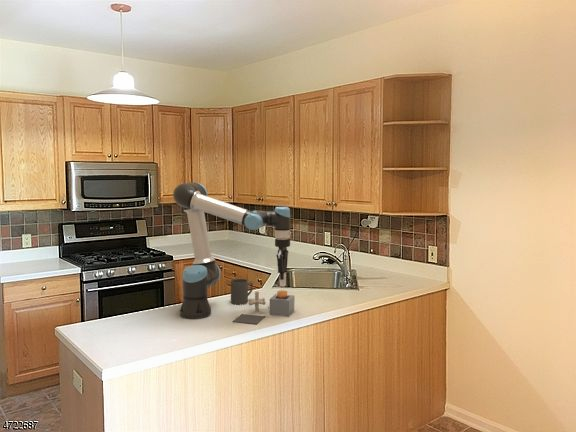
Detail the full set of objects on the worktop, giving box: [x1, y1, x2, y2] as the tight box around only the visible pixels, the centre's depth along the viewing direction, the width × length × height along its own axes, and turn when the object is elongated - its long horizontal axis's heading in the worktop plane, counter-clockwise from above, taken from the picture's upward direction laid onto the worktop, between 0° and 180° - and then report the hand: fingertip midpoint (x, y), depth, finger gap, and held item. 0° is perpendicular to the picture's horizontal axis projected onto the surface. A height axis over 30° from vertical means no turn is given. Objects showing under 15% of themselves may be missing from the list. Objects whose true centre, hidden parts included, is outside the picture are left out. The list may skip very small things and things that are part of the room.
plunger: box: [276, 289, 288, 298], centre depth 244 cm, size 5×5×2 cm
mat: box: [232, 313, 266, 326], centre depth 234 cm, size 12×12×1 cm
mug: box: [230, 278, 254, 306], centre depth 264 cm, size 14×9×12 cm
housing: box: [269, 293, 296, 317], centre depth 245 cm, size 10×10×8 cm
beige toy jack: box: [248, 291, 266, 313], centre depth 247 cm, size 10×10×10 cm
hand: (282, 285), depth 244 cm, fingers closed
